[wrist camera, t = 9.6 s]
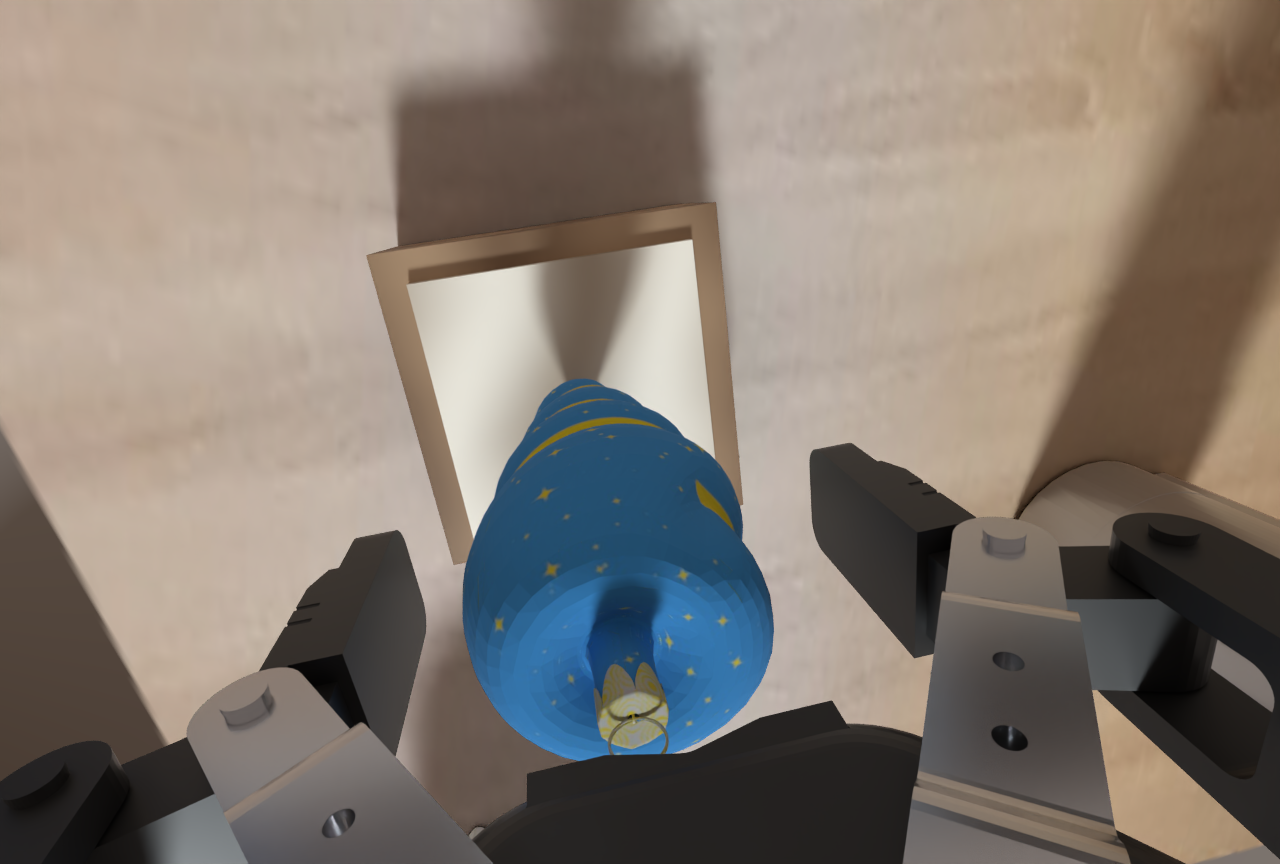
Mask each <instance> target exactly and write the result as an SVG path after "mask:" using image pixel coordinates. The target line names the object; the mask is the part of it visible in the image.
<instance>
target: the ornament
mask: <svg viewBox="0 0 1280 864" xmlns="http://www.w3.org/2000/svg"><path fill="white" fill-rule="evenodd" d="M742 534H743V522H742V514H741V509H740V505H739V502H738V499H737V496H736V493H735V490H734V488H733V485H732V483H731V481H730V479H729V478H728V476H727V474H726V473H725V471H724V470H723V468H722V467H721V465H720V464H719V463H718V462H717V461H716V460H715V459H714V458H713V457H712V456H711V455H710V454H709V453H708V452H706V451H705V450H704V449H703V448H701V447H700V446H698V445H697V444H696V443H694V442H692V441H690V440H688V439H686V438H684V436H683V435H682V434H681V432H680V431H679V430H678V429H677V427H676V426H675V425H674V424H672V423H671V422H670V421H669V420H668V419H666V418H665V417H664V416H662V415H661V414H659V413H658V412H655V411H653V410H651V409H649V408H646V407H644V406H642V405H641V403H639V402H638V401H637V400H635V399H634V398H633V397H631V396H630V395H628V394H626V393H624V392H621V391H619V390H617V389H613V388H608V387H605V386H604V385H602V384H601V383H599V382H597V381H595V380H592V379H573V380H569V381H566V382H564V383H562V384H560V385H559V386H558V387H556V388H555V389H553V390H552V391H551V392H550V393H549V394H548V395H547V396H546V397H545V398H544V400H543V401H542V403H541V404H540V406H539V408H538V410H537V413H536V415H535V418H534V420H533V422H532V423H531V425H530V426H529V427H528V429H527V432H526V434H525V436H524V438H523V440H522V441H521V443H520V444H519V445H518V447H517V448H516V450H515V451H514V452H513V454H512V455H511V456H510V458H509V459H508V461H507V463H506V465H505V467H504V469H503V472H502V474H501V476H500V478H499V480H498V484H497V488H496V492H495V496H494V499H493V501H492V502H491V504H490V505H489V507H488V509H487V511H486V512H485V514H484V516H483V518H482V520H481V523H480V525H479V527H478V529H477V532H476V535H475V538H474V540H473V543H472V546H471V549H470V552H469V555H468V559H467V563H466V568H465V573H464V581H463V626H464V634H465V638H466V643H467V647H468V650H469V654H470V658H471V661H472V665H473V668H474V670H475V673H476V675H477V678H478V680H479V682H480V684H481V686H482V688H483V690H484V691H485V693H486V695H487V696H488V698H489V699H490V701H491V703H492V704H493V706H494V708H495V709H496V710H497V711H498V713H499V714H500V715H501V717H502V718H503V719H504V720H505V721H506V722H507V723H508V724H509V725H510V726H511V727H512V728H513V729H515V730H516V731H517V732H518V733H519V734H521V735H522V736H523V737H525V738H526V739H528V740H529V741H531V742H533V743H534V744H536V745H538V746H539V747H541V748H543V749H545V750H547V751H550V752H552V753H554V754H557V755H559V756H561V757H565V758H569V759H573V760H577V761H582V760H587V759H591V758H595V757H599V756H603V755H632V754H672V753H675V752H678V751H680V750H683V749H685V748H687V747H689V746H692V745H694V744H696V743H698V742H700V741H701V740H703V739H704V738H706V737H707V736H709V735H710V734H712V733H713V732H715V731H716V730H718V729H719V728H721V727H722V726H724V725H725V724H726V723H728V722H729V721H730V720H731V719H732V718H733V717H734V716H735V715H736V714H737V713H738V712H739V711H740V710H741V709H742V708H743V707H744V706H745V705H746V704H747V702H748V701H749V699H750V698H751V696H752V695H753V693H754V692H755V690H756V689H757V687H758V686H759V684H760V682H761V680H762V678H763V676H764V674H765V672H766V669H767V666H768V663H769V660H770V657H771V654H772V646H773V634H774V624H773V613H772V606H771V599H770V594H769V591H768V588H767V586H766V583H765V580H764V578H763V575H762V572H761V570H760V569H759V567H758V565H757V563H756V561H755V559H754V557H753V555H752V554H751V553H750V551H749V550H748V548H747V547H746V546H745V544H744V543H743V542H742Z"/></svg>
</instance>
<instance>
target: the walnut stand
mask: <svg viewBox="0 0 1280 864" xmlns="http://www.w3.org/2000/svg"><path fill="white" fill-rule="evenodd" d="M366 256H367V260H368V263H369V267H370V270H371V274H372V277H373V281H374V284H375V288H376V291H377V295H378V299H379V302H380V306H381V309H382V313H383V316H384V320H385V323H386V327H387V330H388V334H389V337H390V341H391V345H392V348H393V352H394V355H395V359H396V362H397V366H398V369H399V373H400V376H401V380H402V384H403V387H404V391H405V394H406V398H407V401H408V405H409V408H410V412H411V415H412V419H413V422H414V426H415V430H416V433H417V437H418V440H419V444H420V447H421V451H422V454H423V458H424V461H425V465H426V469H427V472H428V476H429V479H430V483H431V486H432V490H433V493H434V497H435V500H436V504H437V507H438V511H439V515H440V518H441V522H442V525H443V529H444V532H445V536H446V539H447V543H448V546H449V550H450V554H451V557H452V561H453V564H454V565H456V564H460V563H465V562H467V559H468V555H469V552H470V549H471V546H472V543H473V540H474V538H475V535H476V532H477V529H478V527H479V525H480V523H481V520H482V518H483V516H484V514H485V512H486V511H487V509H488V507H489V505H490V504H491V502H492V501H493V499H494V496H495V492H496V488H497V484H498V480H499V478H500V476H501V474H502V472H503V469H504V467H505V465H506V463H507V461H508V459H509V458H510V456H511V455H512V454H513V452H514V451H515V450H516V448H517V447H518V445H519V444H520V443H521V441H522V440H523V438H524V436H525V434H526V432H527V429H528V427H529V426H530V425H531V423H532V422H533V420H534V418H535V415H536V413H537V410H538V408H539V406H540V404H541V403H542V401H543V400H544V398H545V397H546V396H547V395H548V394H549V393H550V392H551V391H552V390H553V389H555V388H556V387H558V386H559V385H560V384H562V383H564V382H566V381H569V380H573V379H592V380H595V381H597V382H599V383H601V384H602V385H604V386H605V387H608V388H613V389H617V390H619V391H621V392H624V393H626V394H628V395H630V396H631V397H633V398H634V399H635V400H637V401H638V402H639V403H641V405H642V406H644V407H646V408H649V409H651V410H653V411H655V412H658V413H659V414H661V415H662V416H664V417H665V418H666V419H668V420H669V421H670V422H671V423H672V424H674V425H675V426H676V427H677V429H678V430H679V431H680V432H681V434H682V435H683V436H684V438H686V439H688V440H690V441H692V442H694V443H696V444H697V445H698V446H700V447H701V448H703V449H704V450H705V451H706V452H708V453H709V454H710V455H711V456H712V457H713V458H714V459H715V460H716V461H717V462H718V463H719V464H720V465H721V467H722V468H723V470H724V471H725V473H726V474H727V476H728V478H729V479H730V481H731V483H732V485H733V488H734V490H735V493H736V496H737V499H738V502H739V505H743V497H742V486H741V475H740V464H739V453H738V442H737V431H736V420H735V408H734V397H733V386H732V375H731V364H730V353H729V342H728V331H727V320H726V309H725V297H724V286H723V275H722V264H721V253H720V242H719V231H718V220H717V209H716V202H711V203H687V204H676V205H669V206H663V207H656V208H649V209H643V210H636V211H629V212H623V213H616V214H610V215H603V216H596V217H590V218H583V219H576V220H570V221H563V222H557V223H550V224H543V225H537V226H530V227H523V228H517V229H510V230H504V231H497V232H490V233H484V234H477V235H470V236H464V237H457V238H451V239H444V240H437V241H431V242H424V243H417V244H411V245H404V246H398V247H394V248H390V249H387V250H383V251H380V252H376V253H373V254H369V255H366Z"/></svg>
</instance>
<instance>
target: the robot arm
mask: <svg viewBox="0 0 1280 864" xmlns="http://www.w3.org/2000/svg"><path fill="white" fill-rule="evenodd" d="M810 485H811V508H812V524H813V529H814V533H815V537H816V540H817V542H818V544H819V546H820V548H821V550H822V551H823V552H824V553H825V555H826V556H827V557H828V558H829V559H830V560H831V562H832V563H833V564H834V565H835V566H836V567H837V569H838V570H839V571H840V572H841V573H842V574H843V576H844V577H845V578H846V579H847V580H848V581H849V583H850V584H851V585H852V586H853V587H854V588H855V590H856V591H857V592H858V593H859V594H860V595H861V597H862V598H863V599H864V600H865V601H866V602H867V604H868V605H869V606H870V607H871V608H872V609H873V611H874V612H875V613H876V614H877V615H878V616H879V618H880V619H881V620H882V621H883V622H884V623H885V625H886V626H887V627H888V628H889V629H890V630H891V632H892V633H893V634H894V635H895V636H896V637H897V639H898V640H899V641H900V642H901V643H902V644H903V646H904V647H905V648H906V649H907V650H908V651H909V652H910V654H911V655H912V656H913V657H914V658H918V657H922V656H926V655H930V654H934V655H933V663H932V670H931V678H930V685H929V693H928V701H927V708H926V716H925V723H924V731H923V737H920V736H917V735H914V734H911V733H908V732H904V731H900V730H897V729H893V728H887V727H882V726H876V725H866V724H846V722H845V721H844V719H843V718H842V716H841V714H840V713H839V711H838V709H837V708H836V706H835V705H834V703H833V701H828V702H823V703H819V704H815V705H811V706H807V707H803V708H798V709H794V710H790V711H786V712H782V713H778V714H774V715H769V716H765V717H761V718H759V719H757V720H755V721H753V722H750V723H748V724H746V725H744V726H742V727H740V728H738V729H736V730H734V731H732V732H730V733H728V734H726V735H724V736H722V737H720V738H718V739H716V740H714V741H712V742H710V743H708V744H706V745H704V746H702V747H700V748H698V749H696V750H694V751H691V752H687V753H680V754H632V755H603V756H599V757H595V758H591V759H587V760H582V761H578V762H574V763H570V764H566V765H562V766H558V767H553V768H549V769H545V770H541V771H537V772H533V773H528V774H527V802H525V803H523V804H521V805H519V806H517V807H515V808H514V809H512V810H511V811H509V812H507V813H506V814H504V815H502V816H501V817H499V818H498V819H496V820H495V821H494V822H492V823H491V824H490V825H489V826H487V827H486V828H485V829H483V830H482V831H481V832H480V833H479V834H477V835H476V836H475V837H474V838H473V839H472V840H471V839H470V838H469V837H468V835H467V834H466V833H465V832H464V831H463V830H462V829H461V828H460V827H459V826H458V825H457V823H456V822H455V821H454V820H453V819H452V818H451V817H450V816H449V815H448V814H447V813H446V812H445V810H444V809H443V808H442V807H441V806H440V805H439V804H438V803H437V802H436V801H435V800H434V798H433V797H432V796H431V795H430V794H429V793H428V792H427V791H426V790H425V789H424V788H423V786H422V785H421V784H420V783H419V782H418V781H417V780H416V779H415V778H414V777H413V776H412V775H411V773H410V772H409V771H408V770H407V769H406V768H405V767H404V766H403V765H402V764H401V763H400V761H399V760H398V759H397V758H396V757H395V756H396V752H397V748H398V744H399V740H400V736H401V732H402V728H403V724H404V720H405V716H406V712H407V708H408V703H409V699H410V695H411V691H412V687H413V683H414V679H415V675H416V671H417V667H418V663H419V659H420V655H421V651H422V646H423V642H424V638H425V634H426V614H425V607H424V602H423V599H422V595H421V592H420V589H419V586H418V582H417V579H416V576H415V573H414V569H413V566H412V563H411V559H410V556H409V553H408V550H407V546H406V543H405V540H404V538H403V536H402V534H401V533H400V532H399V531H398V530H396V531H391V532H385V533H380V534H375V535H370V536H365V537H360V538H356V539H354V541H353V543H352V545H351V546H350V548H349V550H348V552H347V554H346V556H345V558H344V560H343V561H342V563H341V565H340V567H339V568H337V569H332V570H328V571H327V572H326V573H325V574H324V575H323V576H321V577H320V578H319V579H318V580H317V581H316V582H314V583H313V584H312V585H311V586H310V587H309V588H308V589H307V590H306V592H305V594H304V595H303V597H302V599H301V600H300V602H299V604H298V605H297V607H296V608H297V611H294V612H293V614H292V616H291V617H290V619H289V621H288V623H287V625H288V626H287V627H285V628H284V629H283V631H282V633H281V634H280V636H279V638H278V640H277V641H276V643H275V645H274V646H273V648H272V650H271V651H270V653H269V655H268V657H267V658H266V660H265V662H264V663H263V665H262V667H261V668H260V670H259V672H256V673H253V674H250V675H248V676H246V677H243V678H241V679H239V680H237V681H235V682H233V683H231V684H230V685H228V686H226V687H225V688H223V689H222V690H220V691H219V692H217V693H216V694H214V695H213V696H212V697H211V698H210V699H208V700H207V701H206V702H205V703H204V704H203V705H202V706H201V707H200V708H199V709H198V710H197V712H196V713H195V714H194V715H193V717H192V719H191V720H190V722H189V725H188V727H187V737H186V738H184V739H182V740H180V741H177V742H175V743H173V744H170V745H168V746H166V747H163V748H161V749H158V750H156V751H154V752H151V753H149V754H146V755H144V756H142V757H139V758H137V759H135V760H132V761H130V762H127V763H125V764H123V765H120V763H119V761H118V759H117V758H116V756H115V754H114V753H113V751H112V749H111V747H110V746H109V745H108V744H106V743H104V742H101V741H86V742H80V743H75V744H72V745H69V746H65V747H62V748H60V749H57V750H54V751H52V752H50V753H48V754H46V755H43V756H41V757H39V758H37V759H35V760H34V761H32V762H30V763H28V764H26V765H25V766H23V767H21V768H20V769H18V770H16V771H15V772H13V773H12V774H10V775H9V776H7V777H6V778H5V779H3V780H2V781H0V864H1185V863H1183V862H1181V861H1179V860H1177V859H1175V858H1173V857H1171V856H1169V855H1167V854H1165V853H1163V852H1161V851H1158V850H1156V849H1154V848H1152V847H1150V846H1148V845H1146V844H1144V843H1142V842H1140V841H1138V840H1136V839H1134V838H1132V837H1130V836H1127V835H1125V834H1123V833H1121V832H1119V831H1117V830H1116V829H1115V825H1114V819H1113V813H1112V807H1111V801H1110V795H1109V789H1108V783H1107V777H1106V771H1105V765H1104V759H1103V753H1102V747H1101V741H1100V735H1099V729H1098V723H1097V717H1096V711H1095V705H1094V698H1093V692H1092V690H1098V691H1099V692H1100V693H1101V694H1102V695H1103V696H1104V697H1105V698H1106V699H1107V700H1108V701H1109V702H1110V703H1111V704H1112V705H1113V706H1114V707H1115V708H1117V709H1118V710H1119V711H1120V712H1121V713H1122V714H1123V715H1124V716H1125V717H1126V718H1127V719H1128V720H1130V721H1131V722H1132V723H1133V724H1134V725H1135V726H1136V727H1137V728H1138V729H1139V730H1140V731H1141V732H1143V733H1144V734H1145V735H1146V736H1147V737H1148V738H1149V739H1150V740H1151V741H1152V742H1153V743H1154V744H1155V745H1157V746H1158V747H1159V748H1160V749H1161V750H1162V751H1163V752H1164V753H1165V754H1166V755H1167V756H1168V757H1170V758H1171V759H1172V760H1173V761H1174V762H1175V763H1176V764H1177V765H1178V766H1179V767H1180V768H1181V769H1183V770H1184V771H1185V772H1186V773H1187V774H1188V775H1189V776H1190V777H1191V778H1192V779H1193V780H1194V781H1196V782H1197V783H1198V784H1199V785H1200V786H1201V787H1202V788H1203V789H1204V790H1205V791H1206V792H1207V793H1209V794H1210V795H1211V796H1212V797H1213V798H1214V799H1215V800H1216V801H1217V802H1218V803H1219V804H1220V805H1222V806H1223V807H1224V808H1225V809H1226V810H1227V811H1228V812H1229V813H1230V814H1231V815H1232V816H1233V817H1235V818H1236V819H1237V820H1238V821H1239V822H1240V823H1241V824H1242V825H1243V826H1244V827H1245V828H1246V829H1247V830H1249V831H1250V832H1251V833H1252V834H1253V835H1254V836H1255V837H1256V838H1257V839H1258V840H1259V841H1260V842H1262V843H1263V844H1264V845H1265V846H1266V847H1267V848H1268V849H1269V850H1270V851H1271V852H1272V853H1274V854H1275V855H1276V856H1277V857H1278V858H1279V859H1280V520H1279V519H1276V518H1274V517H1271V516H1269V515H1266V514H1264V513H1262V512H1259V511H1257V510H1254V509H1252V508H1249V507H1247V506H1244V505H1242V504H1240V503H1237V502H1235V501H1232V500H1230V499H1227V498H1225V497H1223V496H1220V495H1218V494H1215V493H1213V492H1210V491H1208V490H1206V489H1203V488H1201V487H1198V486H1196V485H1193V484H1191V483H1189V482H1186V481H1184V480H1181V479H1179V478H1176V477H1174V476H1171V475H1169V474H1167V473H1159V474H1152V473H1150V472H1147V471H1145V470H1142V469H1140V468H1138V467H1135V466H1133V465H1130V464H1126V463H1122V462H1119V461H1100V462H1095V463H1090V464H1085V465H1083V466H1080V467H1078V468H1076V469H1073V470H1071V471H1068V472H1067V473H1065V474H1063V475H1062V476H1060V477H1059V478H1057V479H1055V480H1054V481H1052V482H1051V483H1050V484H1049V485H1048V486H1046V487H1045V488H1044V489H1043V490H1042V491H1041V492H1039V493H1038V494H1037V495H1036V496H1035V498H1034V499H1033V500H1032V501H1031V502H1030V504H1029V505H1028V506H1027V507H1026V508H1025V509H1024V511H1023V513H1022V514H1021V516H1020V518H1019V519H1018V520H1017V519H1012V518H1005V517H980V518H976V517H975V516H973V515H972V514H970V513H969V512H968V511H966V510H965V509H963V508H962V507H960V506H959V505H957V504H956V503H955V502H953V501H952V500H950V499H949V498H947V497H946V496H944V495H943V494H941V493H937V490H936V489H934V488H933V487H931V486H930V485H928V484H927V483H923V480H921V479H920V478H918V477H917V476H915V475H914V474H912V473H911V472H909V471H908V470H907V469H904V468H901V467H898V466H895V465H892V464H889V463H886V462H883V461H878V462H877V461H876V460H874V459H873V458H872V457H870V456H869V455H868V454H866V453H865V452H863V451H862V450H861V449H859V448H858V447H856V446H855V445H854V444H852V443H846V444H841V445H836V446H831V447H826V448H820V449H815V450H813V451H812V453H811V455H810Z"/></svg>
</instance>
